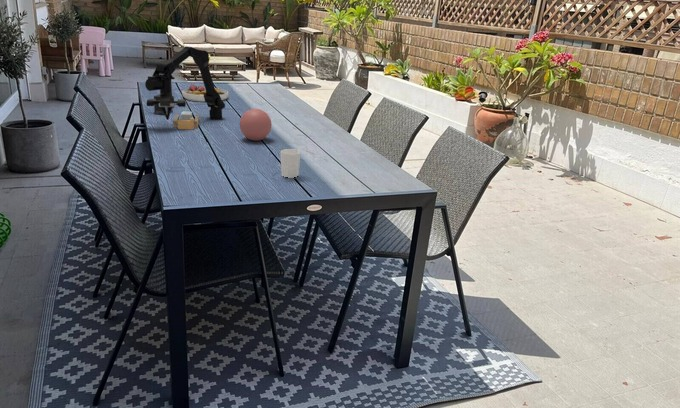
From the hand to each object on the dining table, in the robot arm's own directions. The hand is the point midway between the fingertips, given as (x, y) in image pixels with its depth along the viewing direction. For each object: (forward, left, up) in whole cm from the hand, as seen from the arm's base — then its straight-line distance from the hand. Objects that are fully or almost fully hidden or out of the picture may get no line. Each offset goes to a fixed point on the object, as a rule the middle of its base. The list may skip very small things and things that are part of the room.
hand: (167, 119), depth 275 cm
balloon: (-43, +19, -5) cm, 48 cm away
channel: (-8, -10, -5) cm, 14 cm away
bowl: (-14, -89, -5) cm, 90 cm away
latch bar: (-9, 0, -5) cm, 10 cm away
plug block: (-8, -12, -5) cm, 15 cm away
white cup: (-55, +78, -5) cm, 96 cm away
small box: (+7, -39, -5) cm, 40 cm away
